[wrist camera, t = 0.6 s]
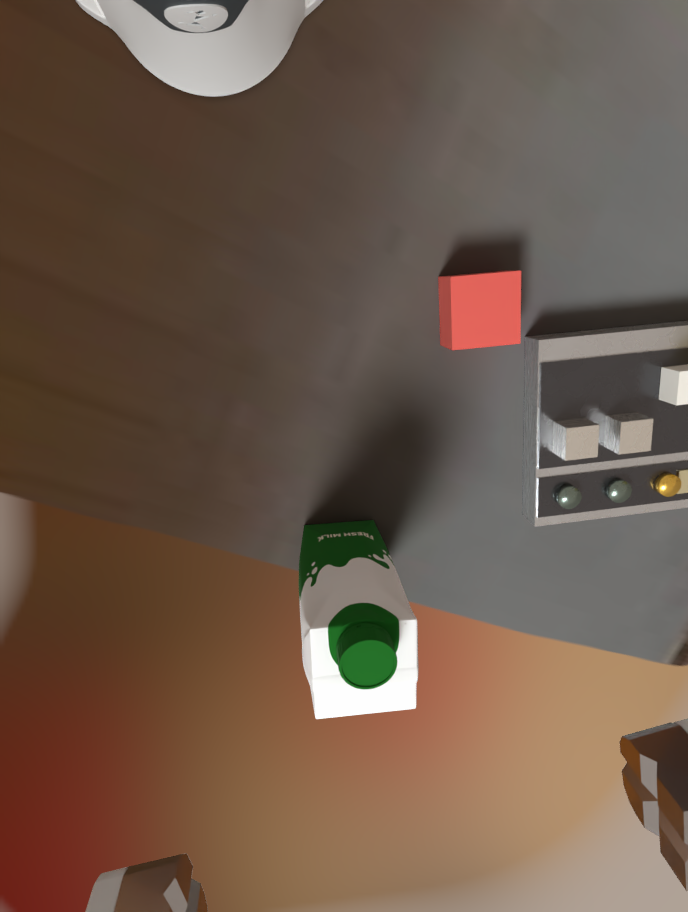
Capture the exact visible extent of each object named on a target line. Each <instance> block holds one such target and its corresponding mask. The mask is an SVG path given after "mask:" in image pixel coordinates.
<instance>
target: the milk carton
mask: <svg viewBox="0 0 688 912" xmlns="http://www.w3.org/2000/svg"><path fill="white" fill-rule="evenodd" d="M299 599H300V600H299V601H300V617H301V618H300V619H301V634H302V657H303V665H304V670H305V673H306V676H307V679H308V681H309V684H310V688H311V693H312V700H313V706H314V712H315V718H316V719H321V718H332V717H341V716H350V715H360V714H369V713H378V712H388V711H396V710H406V709H415V708H416V681H418V638H417V637H418V635H417V619H416V617H415V615H414V614H413V612H412V610H411V608H410V605H409V602H408V600H407V597H406V595H405V592H404V589H403V587H402V584H401V582H400V579H399V577H398V574H397V572H396V569H395V567H394V564H393V562H392V559H391V557H390V554H389V552H388V549H387V547H386V545H385V543H384V541H383V539H382V537H381V535H380V533H379V531H378V529H377V526H376V524H375V522H374V520H366V521H353V522H340V523H327V524H314V525H304V531H303V538H302V545H301V552H300V561H299Z"/></svg>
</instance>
